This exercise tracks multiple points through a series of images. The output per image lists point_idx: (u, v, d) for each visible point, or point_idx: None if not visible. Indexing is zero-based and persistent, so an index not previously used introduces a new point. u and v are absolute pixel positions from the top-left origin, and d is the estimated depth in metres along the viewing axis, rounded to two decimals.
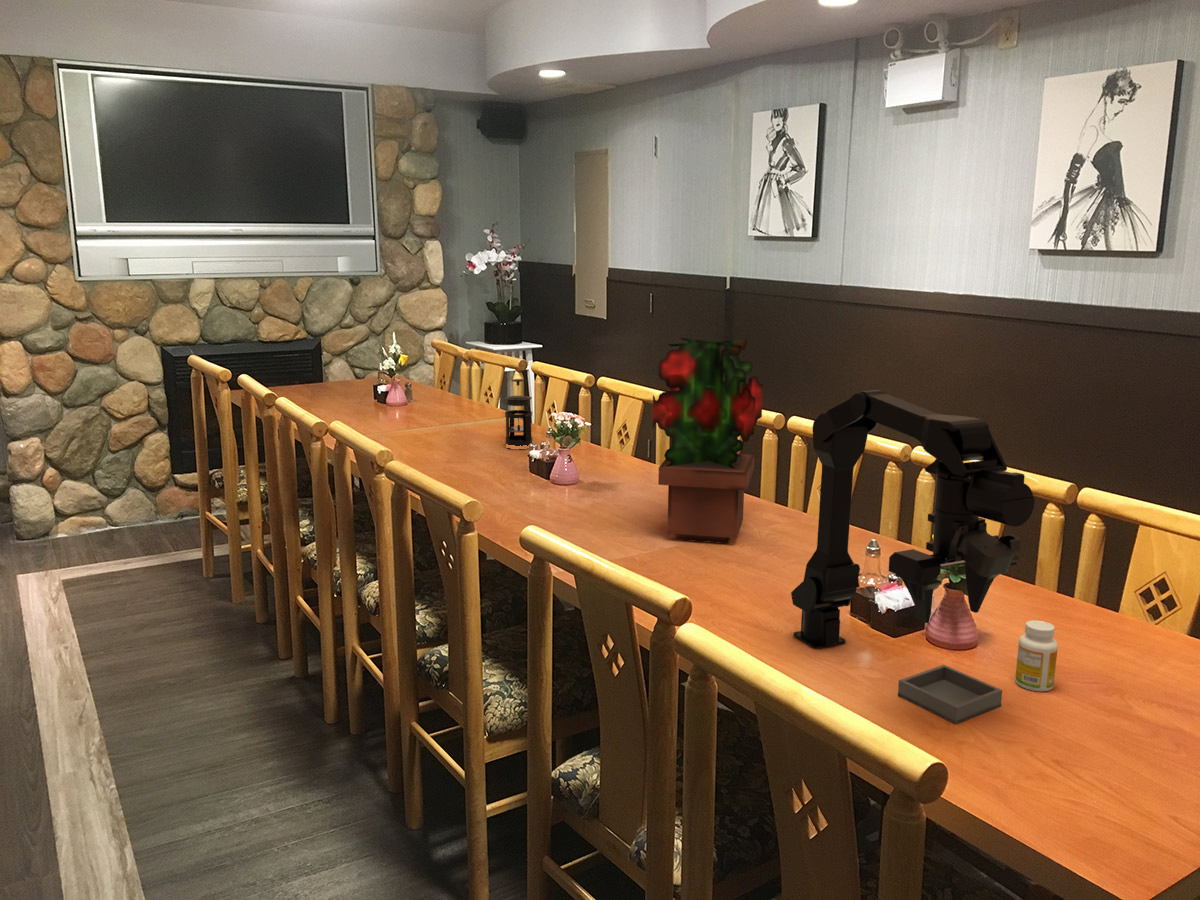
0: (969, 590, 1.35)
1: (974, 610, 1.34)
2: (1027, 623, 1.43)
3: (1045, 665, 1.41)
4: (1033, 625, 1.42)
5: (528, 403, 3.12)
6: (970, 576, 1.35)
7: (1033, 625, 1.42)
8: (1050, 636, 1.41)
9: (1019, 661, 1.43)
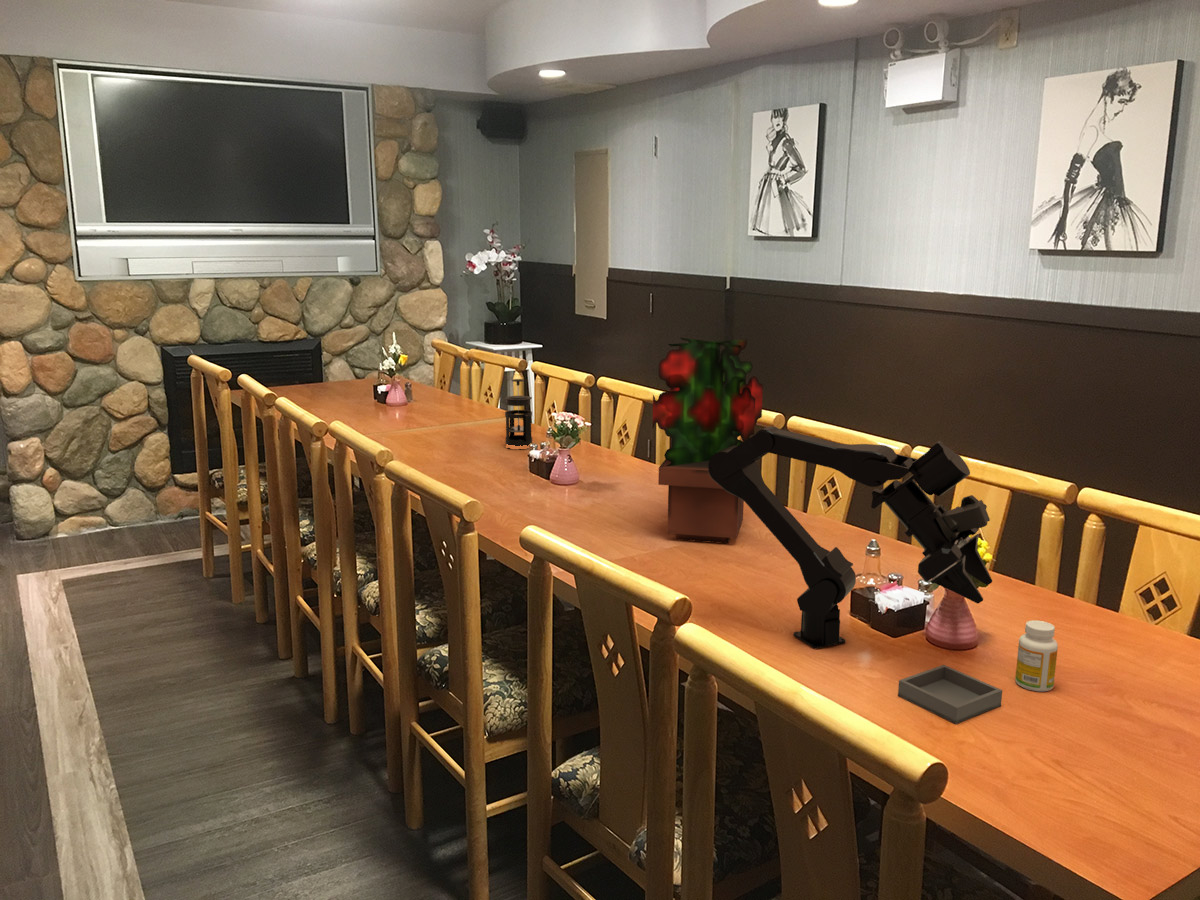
0: (972, 572, 1.50)
1: (989, 581, 1.49)
2: (1027, 623, 1.43)
3: (1045, 665, 1.41)
4: (1033, 625, 1.42)
5: (528, 403, 3.12)
6: None
7: (1034, 625, 1.42)
8: (1050, 636, 1.41)
9: (1019, 661, 1.43)
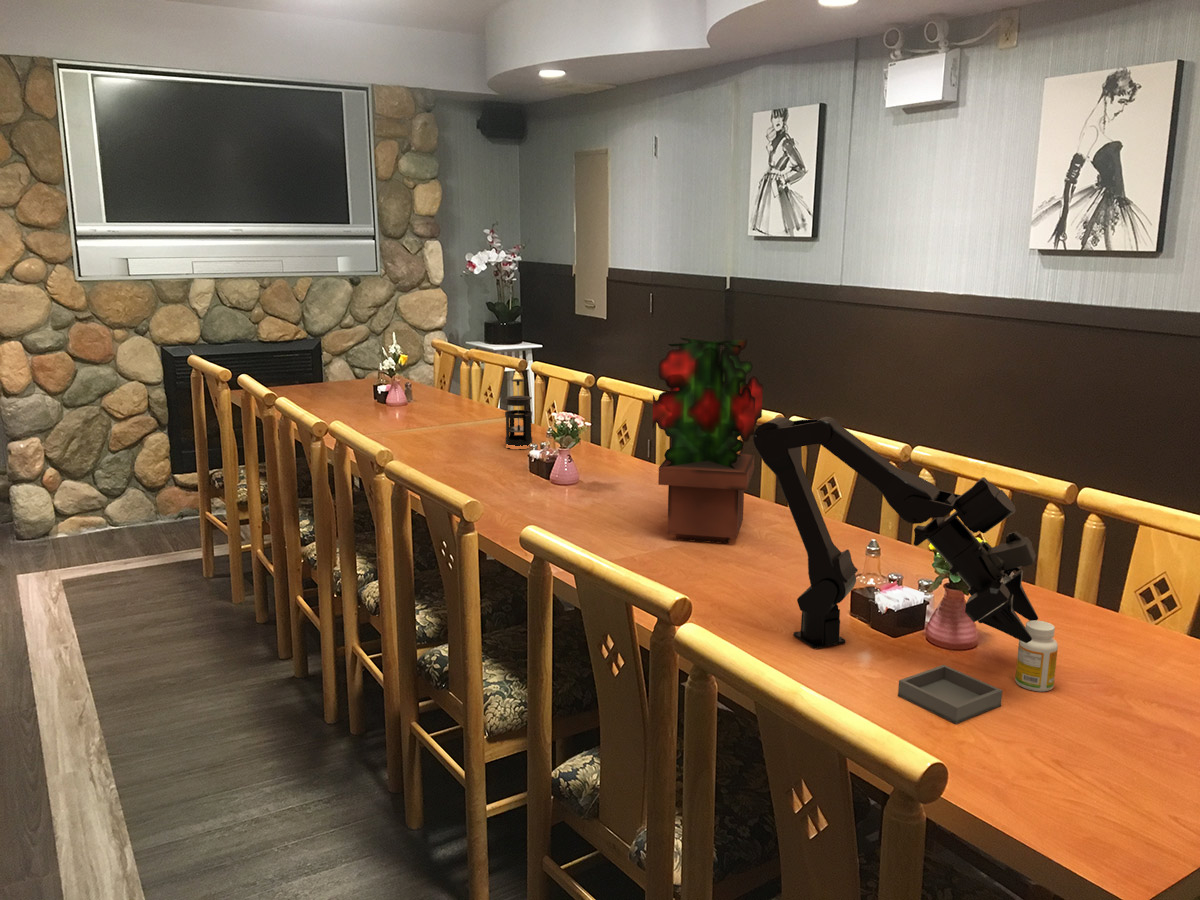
0: (1017, 609, 1.48)
1: (1035, 618, 1.47)
2: (1027, 623, 1.43)
3: (1045, 665, 1.41)
4: (1033, 625, 1.42)
5: (528, 403, 3.12)
6: None
7: (1034, 625, 1.42)
8: (1050, 636, 1.41)
9: (1019, 661, 1.43)
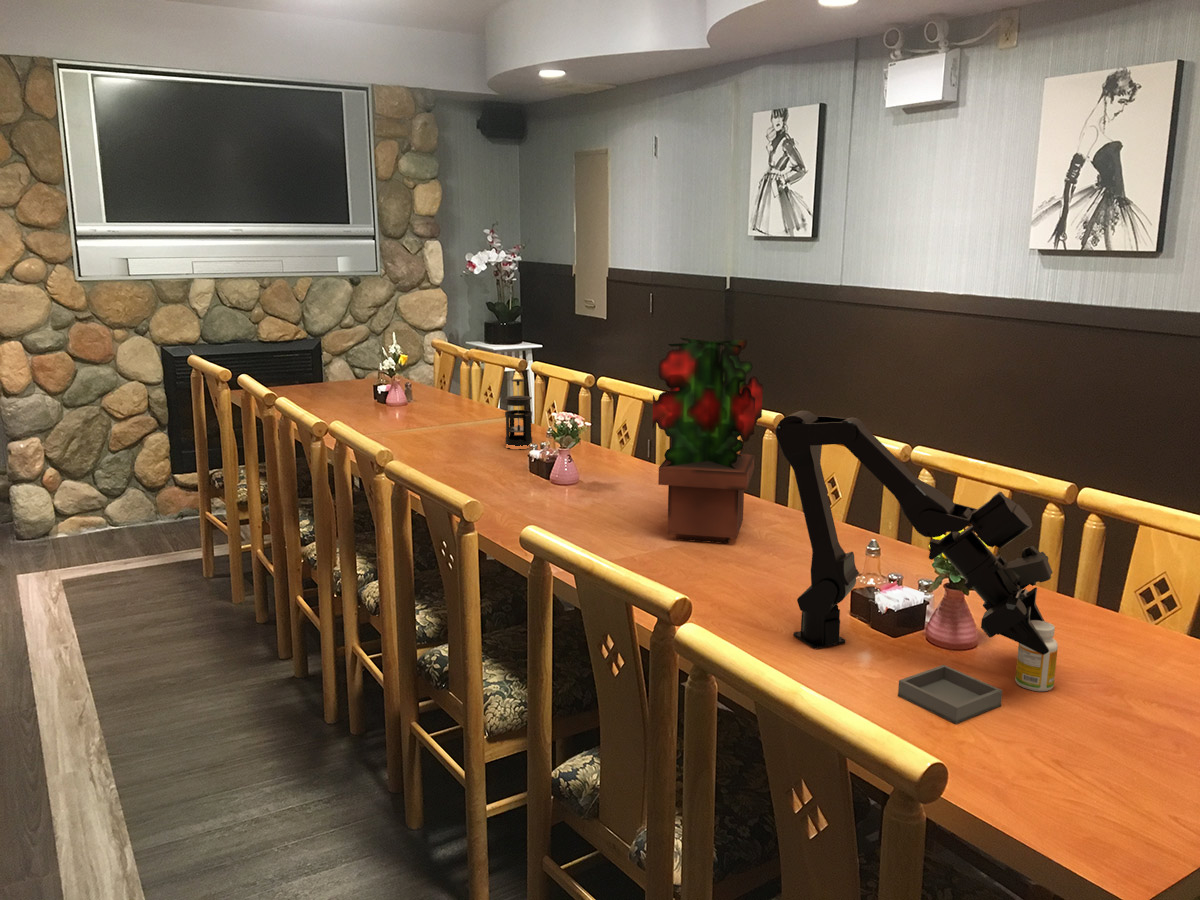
0: None
1: None
2: None
3: (1045, 665, 1.41)
4: None
5: (528, 403, 3.12)
6: None
7: (1034, 625, 1.42)
8: (1050, 636, 1.41)
9: (1019, 661, 1.43)
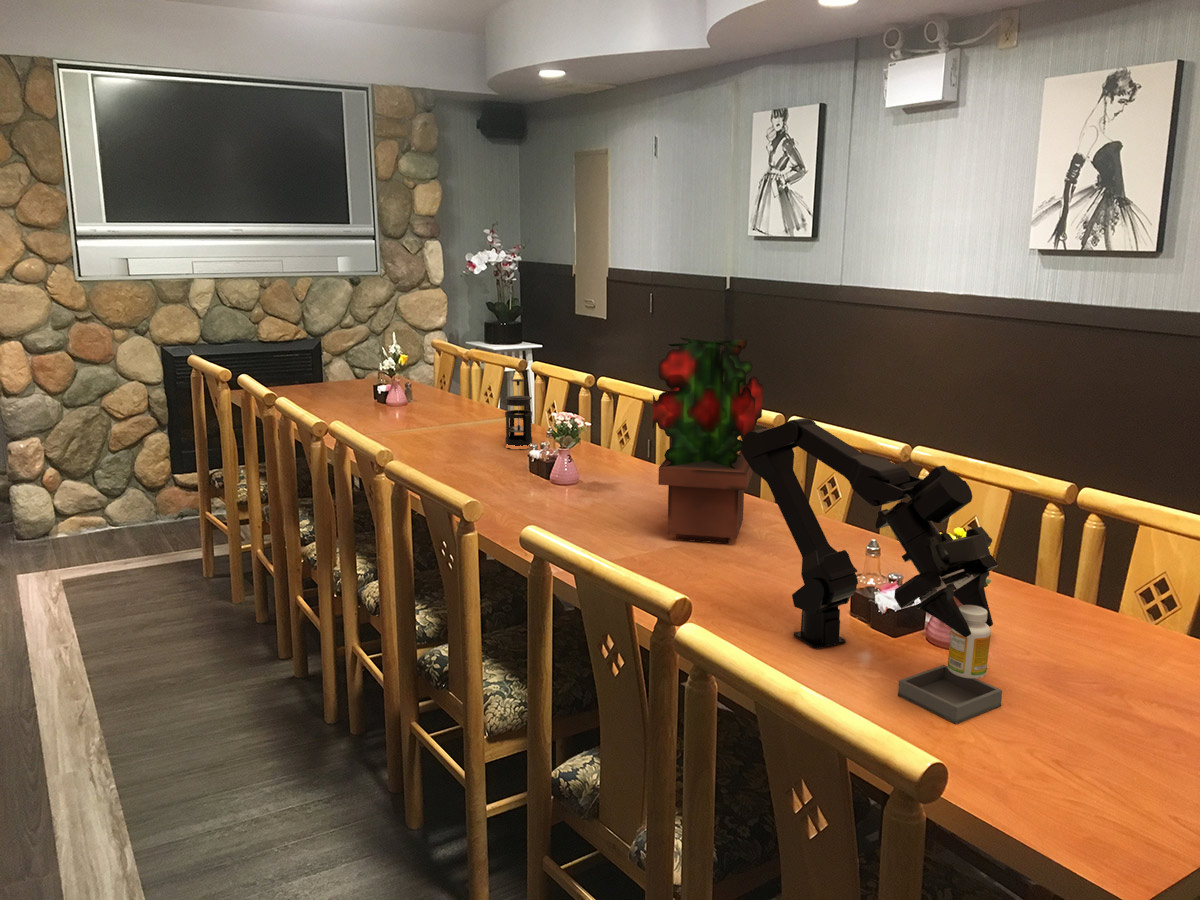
0: None
1: (989, 624, 1.38)
2: (961, 606, 1.38)
3: (969, 651, 1.35)
4: (965, 608, 1.37)
5: (528, 403, 3.12)
6: (965, 600, 1.41)
7: (965, 609, 1.37)
8: (978, 621, 1.35)
9: None
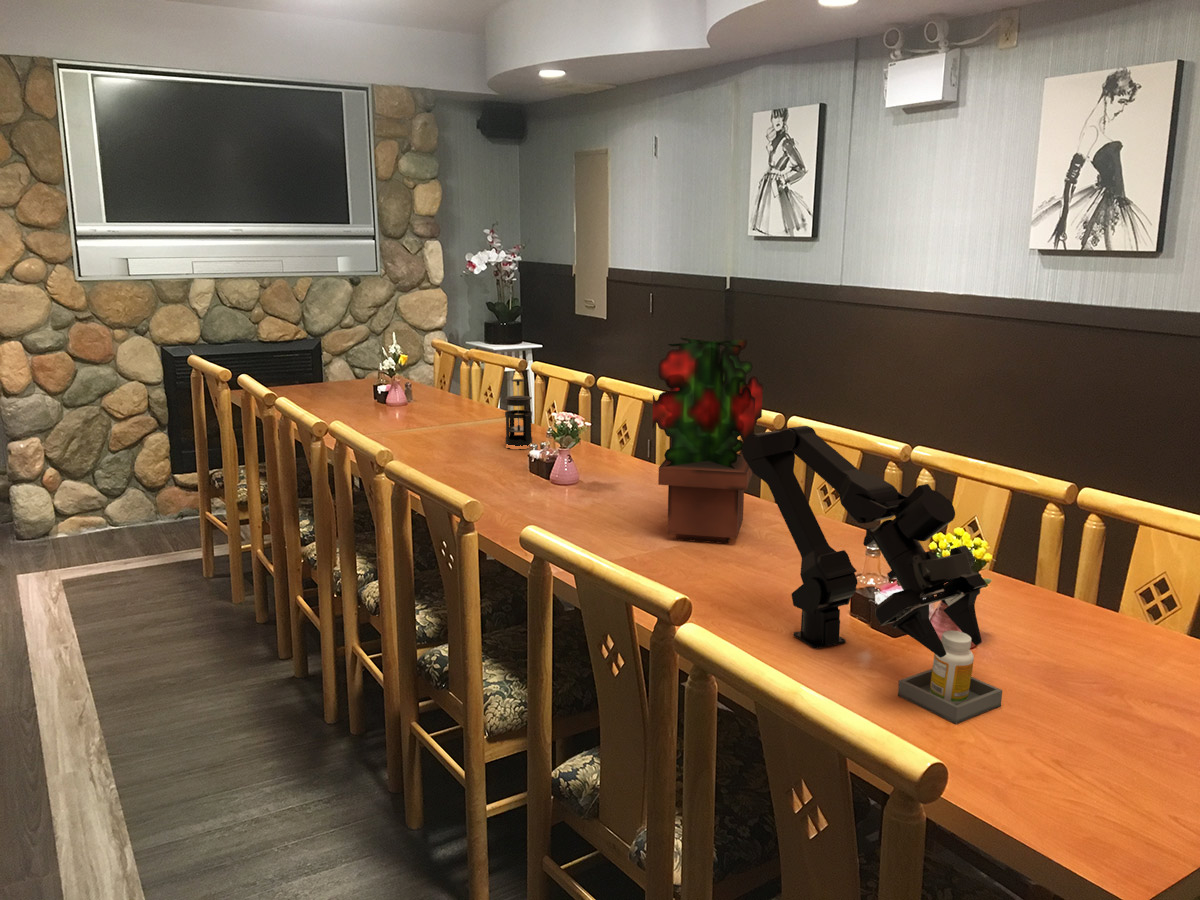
0: (963, 629, 1.40)
1: (978, 641, 1.38)
2: (945, 631, 1.38)
3: (950, 677, 1.35)
4: (949, 634, 1.37)
5: (528, 403, 3.12)
6: (956, 617, 1.41)
7: (949, 635, 1.37)
8: (960, 649, 1.35)
9: (932, 668, 1.39)
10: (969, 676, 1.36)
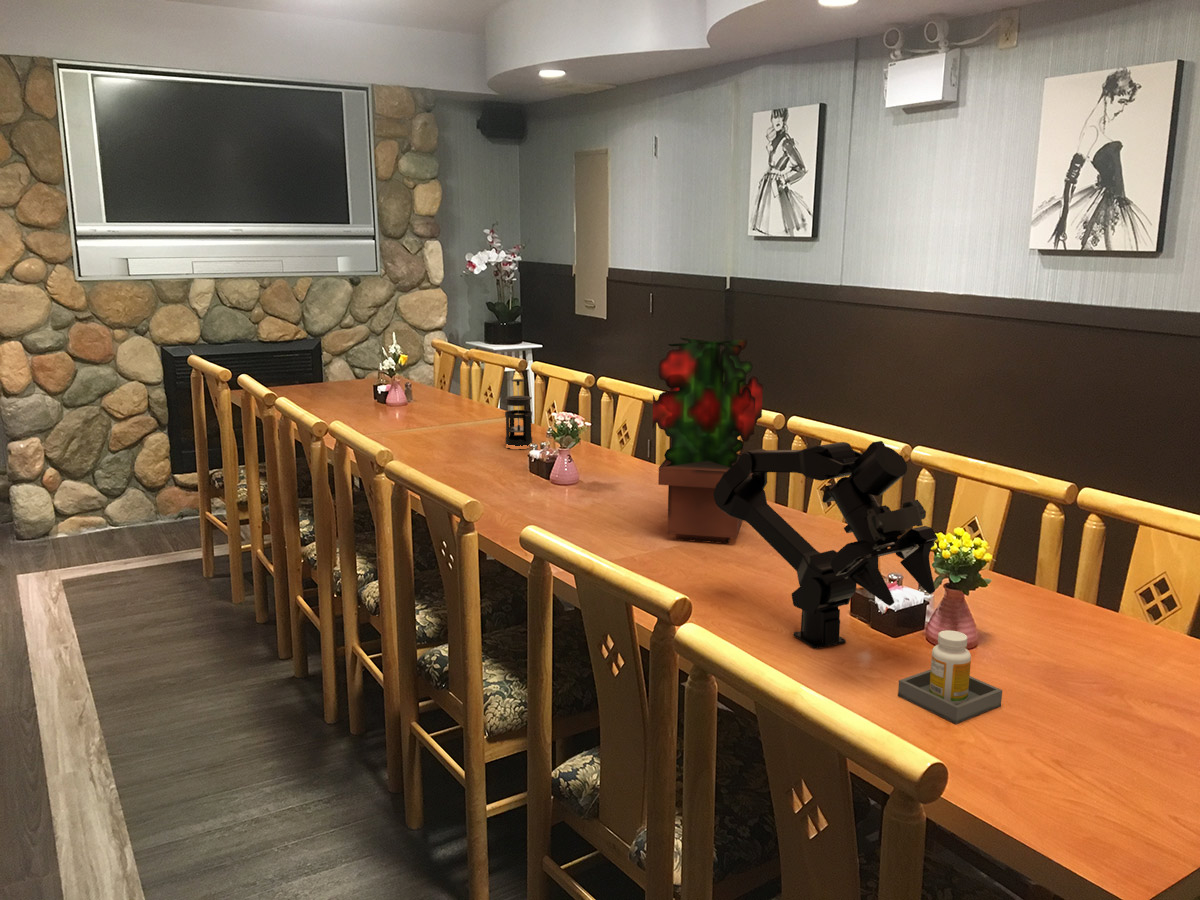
0: (918, 579, 1.47)
1: (931, 590, 1.45)
2: (941, 631, 1.38)
3: (948, 676, 1.36)
4: (945, 634, 1.37)
5: (528, 403, 3.12)
6: (911, 568, 1.48)
7: (945, 634, 1.37)
8: (956, 647, 1.35)
9: None
10: (967, 675, 1.36)
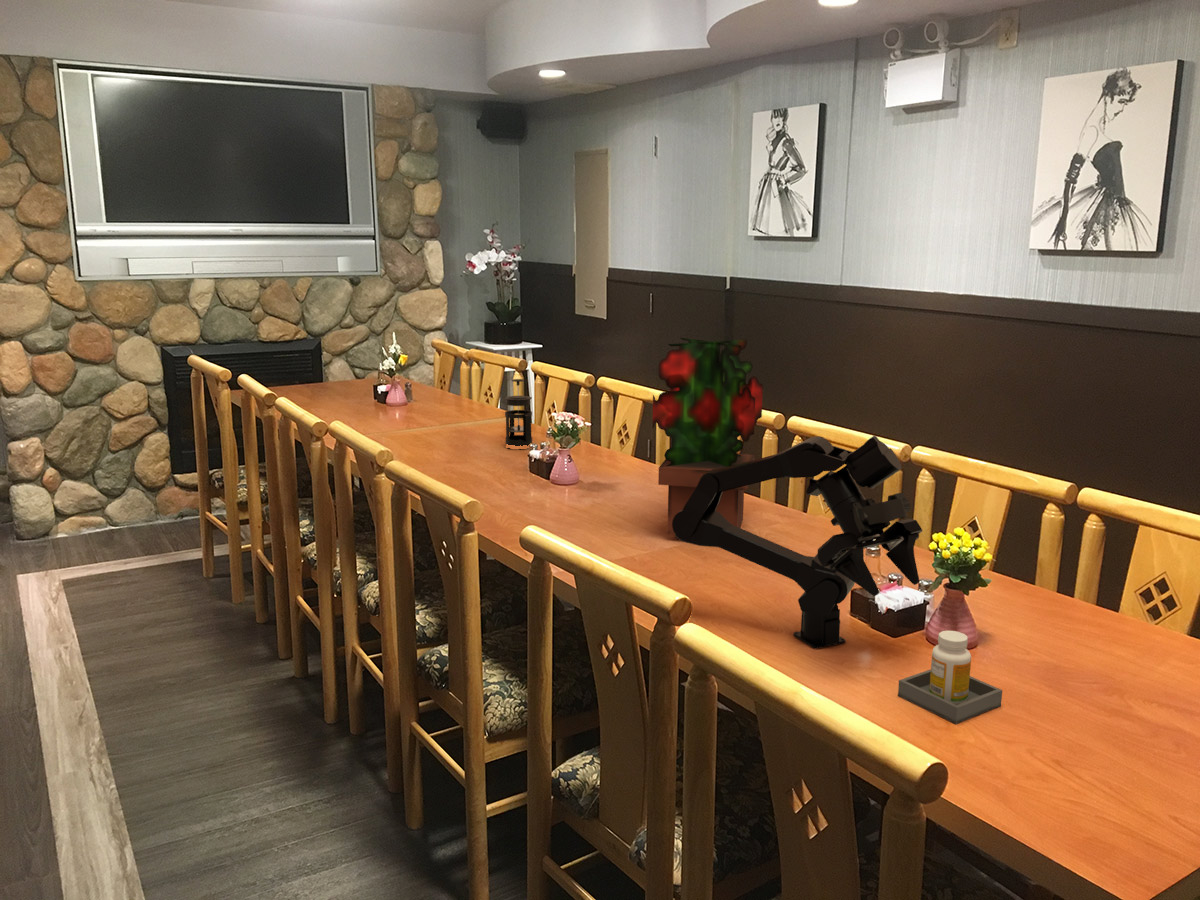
0: (903, 570, 1.51)
1: (916, 581, 1.48)
2: (942, 632, 1.38)
3: (949, 677, 1.36)
4: (945, 634, 1.37)
5: (528, 403, 3.12)
6: (897, 560, 1.52)
7: (945, 635, 1.37)
8: (957, 648, 1.35)
9: None
10: (967, 675, 1.36)
